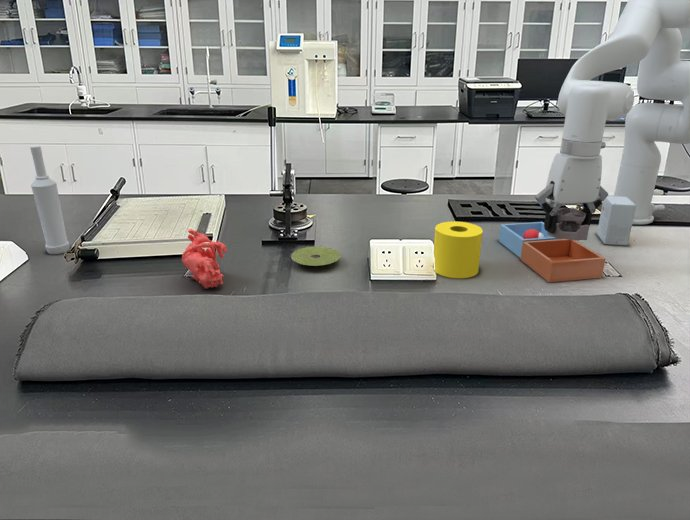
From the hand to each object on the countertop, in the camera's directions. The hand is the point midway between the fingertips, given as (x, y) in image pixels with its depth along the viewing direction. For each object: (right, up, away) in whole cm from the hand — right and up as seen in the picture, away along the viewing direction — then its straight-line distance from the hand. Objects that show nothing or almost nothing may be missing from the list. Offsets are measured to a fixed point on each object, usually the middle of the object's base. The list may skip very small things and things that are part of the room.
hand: (566, 229), depth 115 cm
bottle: (-117, -4, +13) cm, 118 cm away
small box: (+20, -2, +20) cm, 28 cm away
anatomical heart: (-77, -11, -3) cm, 78 cm away
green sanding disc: (-54, -7, +6) cm, 55 cm away
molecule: (-2, -3, +15) cm, 16 cm away
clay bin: (0, -8, +4) cm, 9 cm away
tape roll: (-23, -9, +3) cm, 25 cm away
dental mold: (+1, -1, +1) cm, 2 cm away
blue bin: (-2, -4, +15) cm, 16 cm away
